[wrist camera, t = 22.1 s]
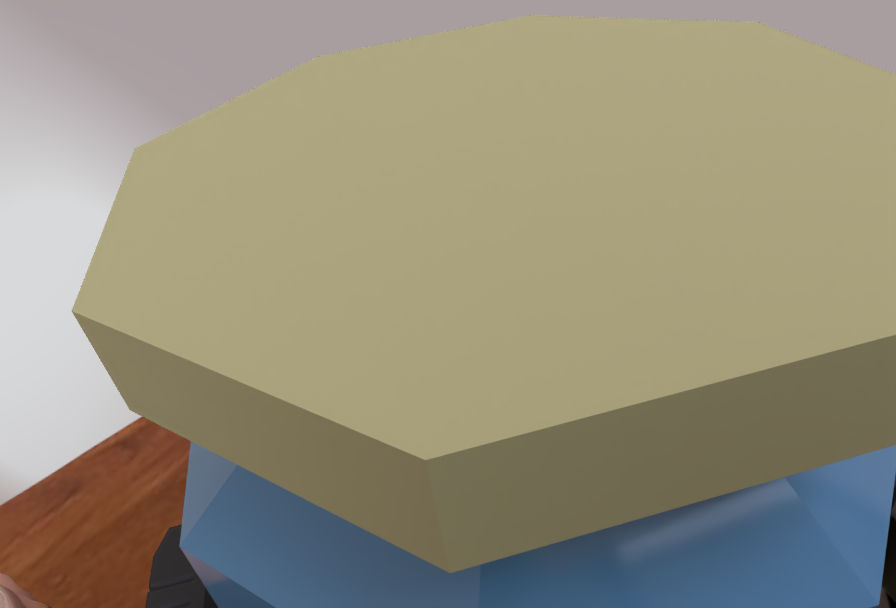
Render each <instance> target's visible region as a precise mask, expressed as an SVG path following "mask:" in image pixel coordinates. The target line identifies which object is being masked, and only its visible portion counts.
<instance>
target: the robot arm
mask: <svg viewBox="0 0 896 608" xmlns="http://www.w3.org/2000/svg"><path fill="white" fill-rule="evenodd" d="M181 528H182V525H179V526H175V527H171V528H169V530H168V531H167V533H166V535H165V537H164V539H163V540H162V542H161V544H160V546H159V548H158V549H157V551H156V553H155V555H154V557H153V563H152V569H151V575H150V582H149V589H150V591H149V592H148V594H147V601H146V607H145V608H218V606H217V605H216V603H215V601H214V600H213V598H212V597H211V595H210V594H209V592H208V590H207V589H206V587H205V586H204V584H203V583H202V581H201V579H200V578H199V576H198V575H197V573H196V572H195V570H194V569H193V567H192V565H191V564H190V562H189V561H188V559H187V558H186V556H185V554H184V553H183V551H182V550H181V548H180V547H179V546H180V537H181ZM878 608H896V473H895V482H894V490H893V498H892V506H891V514H890V522H889V530H888V538H887V546H886V554H885V562H884V570H883V578H882V586H881V594H880V602H879V606H878Z"/></svg>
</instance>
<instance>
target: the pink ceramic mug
mask: <svg viewBox="0 0 896 608" xmlns="http://www.w3.org/2000/svg"><path fill="white" fill-rule="evenodd" d="M0 608H51V607H49V606H48V605H45V604H43V603H40V602H37V601H35V600H34V598H33V597H32V596H31V594H30V593H29V592H28V591H25V590H22V589H20V588H19V587H18V586H17V585H16V584H15V582H14V581H13V580H12V579H11V578H10V577H8V576H7V575H5V574H2V573H0Z"/></svg>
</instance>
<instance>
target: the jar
mask: <svg viewBox="0 0 896 608" xmlns="http://www.w3.org/2000/svg"><path fill="white" fill-rule="evenodd" d="M72 312H73V314H74V316H75V317H76V319H77V321H78V322H79V324H80V326H81V328H82V329H83V331H84V333H85V334H86V336H87V337H88V339H89V341H90V343H91V345H92V346H93V348H94V350H95V351H96V353H97V355H98V356H99V358H100V360H101V362H102V363H103V365H104V367H105V368H106V370H107V371H108V373H109V375H110V377H111V379H112V380H113V382H114V384H115V385H116V387H117V389H118V390H119V392H120V394H121V396H122V397H123V399H124V400H125V402H126V404H127V406H128V407H129V409H130V410H131V411H133V412H135V413H137V414H139V415H141V416H143V417H145V418H147V419H149V420H151V421H153V422H154V423H156V424H158V425H160V426H162V427H164V428H166V429H168V430H170V431H172V432H174V433H176V434H178V435H180V436H182V437H184V438H186V439H188V440H190V441H191V446H190V455H189V464H188V473H187V482H186V491H185V501H184V510H183V519H182V528H181V537H180V546H179V547H180V548H181V550H182V551H183V553H184V554H185V556H186V558H187V559H188V561H189V562H190V564H191V565H192V567H193V569H194V570H195V572H196V573H197V575H198V576H199V578H200V579H201V581H202V583H203V584H204V586H205V587H206V589H207V590H208V592H209V594H210V595H211V597H212V598H213V600H214V601H215V603H216V605H217V606H218V608H878V606H879V602H880V594H881V586H882V578H883V570H884V562H885V554H886V546H887V538H888V530H889V522H890V514H891V506H892V498H893V490H894V482H895V473H896V74H893V73H891V72H889V71H886V70H883V69H880V68H878V67H875V66H873V65H870V64H867V63H865V62H862V61H860V60H857V59H854V58H852V57H849V56H847V55H844V54H841V53H839V52H836V51H833V50H831V49H828V48H826V47H823V46H820V45H818V44H815V43H812V42H810V41H807V40H805V39H802V38H799V37H797V36H794V35H791V34H789V33H786V32H784V31H781V30H778V29H776V28H773V27H770V26H768V25H765V24H762V23H760V22H740V21H705V20H704V21H703V20H669V19H634V18H598V17H562V16H525V17H519V18H514V19H509V20H504V21H499V22H494V23H488V24H483V25H478V26H473V27H468V28H463V29H458V30H452V31H447V32H442V33H437V34H432V35H427V36H421V37H416V38H411V39H406V40H401V41H395V42H390V43H385V44H380V45H375V46H370V47H365V48H360V49H355V50H349V51H344V52H339V53H333V54H328V55H323V56H318V57H316V58H314V59H313V60H310V61H308V62H306V63H304V64H302V65H300V66H298V67H296V68H294V69H292V70H290V71H288V72H286V73H284V74H282V75H280V76H278V77H276V78H274V79H272V80H270V81H268V82H266V83H264V84H262V85H260V86H259V87H256V88H254V89H252V90H251V91H248V92H246V93H244V94H242V95H240V96H239V97H236V98H234V99H233V100H230V101H229V102H226V103H225V104H223V105H221V106H219V107H217V108H215V109H213V110H211V111H209V112H207V113H205V114H203V115H201V116H199V117H197V118H195V119H193V120H191V121H189V122H187V123H185V124H183V125H181V126H179V127H177V128H175V129H173V130H171V131H169V132H167V133H165V134H163V135H161V136H159V137H157V138H155V139H153V140H151V141H149V142H147V143H145V144H143V145H141V146H139V147H137V148H135V149H134V152H133V155H132V157H131V160H130V162H129V165H128V167H127V170H126V172H125V175H124V178H123V180H122V183H121V185H120V188H119V190H118V193H117V196H116V198H115V201H114V203H113V206H112V209H111V211H110V214H109V216H108V219H107V221H106V224H105V227H104V229H103V232H102V234H101V237H100V240H99V242H98V245H97V247H96V250H95V252H94V255H93V258H92V260H91V263H90V266H89V268H88V270H87V273H86V276H85V278H84V281H83V284H82V286H81V289H80V291H79V294H78V296H77V299H76V301H75V304H74V307H73V309H72Z"/></svg>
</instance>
